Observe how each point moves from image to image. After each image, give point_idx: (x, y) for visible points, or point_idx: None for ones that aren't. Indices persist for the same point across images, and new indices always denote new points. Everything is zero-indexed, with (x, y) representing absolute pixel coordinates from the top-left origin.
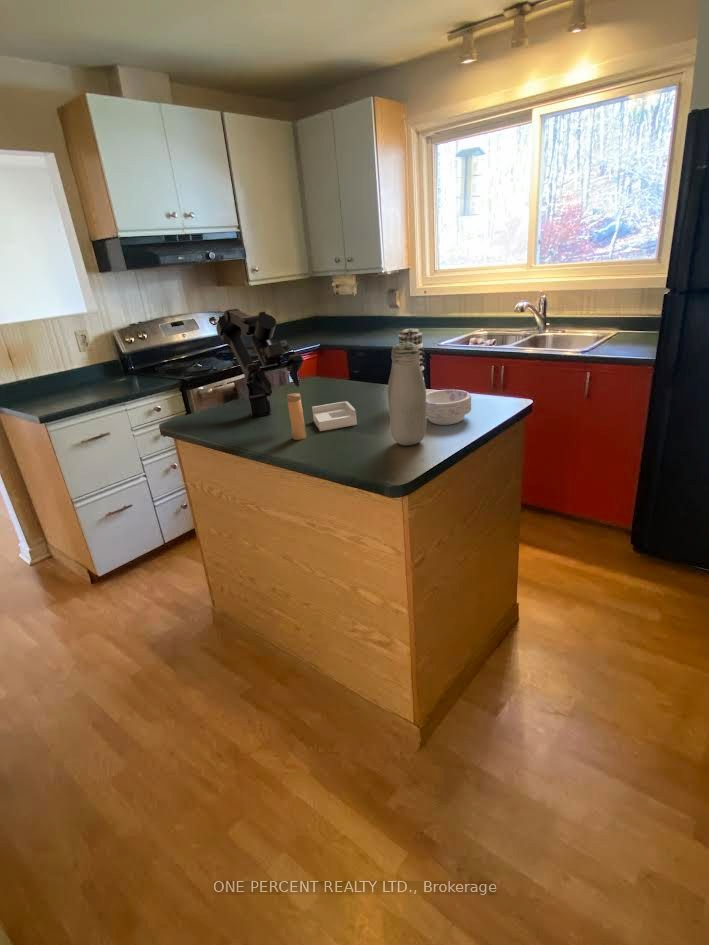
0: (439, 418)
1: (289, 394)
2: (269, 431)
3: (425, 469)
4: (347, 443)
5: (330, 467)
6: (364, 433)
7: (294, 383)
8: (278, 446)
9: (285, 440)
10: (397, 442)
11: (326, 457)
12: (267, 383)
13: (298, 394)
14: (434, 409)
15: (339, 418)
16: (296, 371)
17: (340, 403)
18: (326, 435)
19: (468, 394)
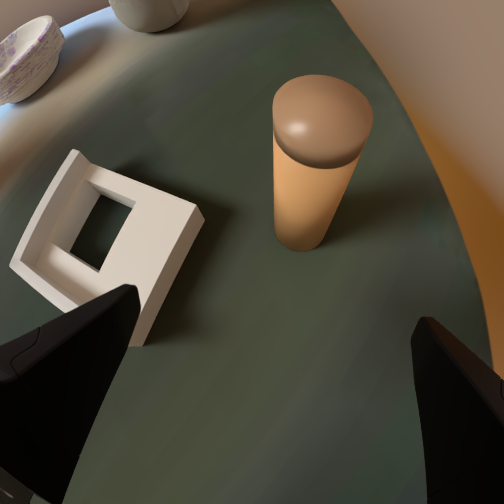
0: (64, 39)
1: (339, 138)
2: (341, 402)
3: None
4: (231, 81)
5: (346, 32)
6: (149, 105)
7: (119, 364)
8: (398, 215)
9: (354, 246)
10: (183, 15)
11: (327, 60)
12: (473, 369)
13: (293, 89)
14: (56, 31)
15: (126, 177)
16: (7, 351)
17: (30, 269)
18: (222, 167)
19: (5, 38)
